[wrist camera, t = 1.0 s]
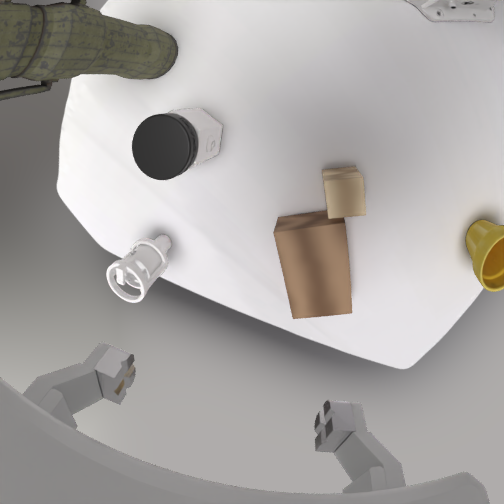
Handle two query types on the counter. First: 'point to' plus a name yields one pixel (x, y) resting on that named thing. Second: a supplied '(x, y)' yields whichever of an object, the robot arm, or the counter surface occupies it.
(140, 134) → the jar
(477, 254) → the plant pot
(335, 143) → the counter surface
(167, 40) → the thermos
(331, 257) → the walnut block
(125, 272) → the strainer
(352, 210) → the oak block
